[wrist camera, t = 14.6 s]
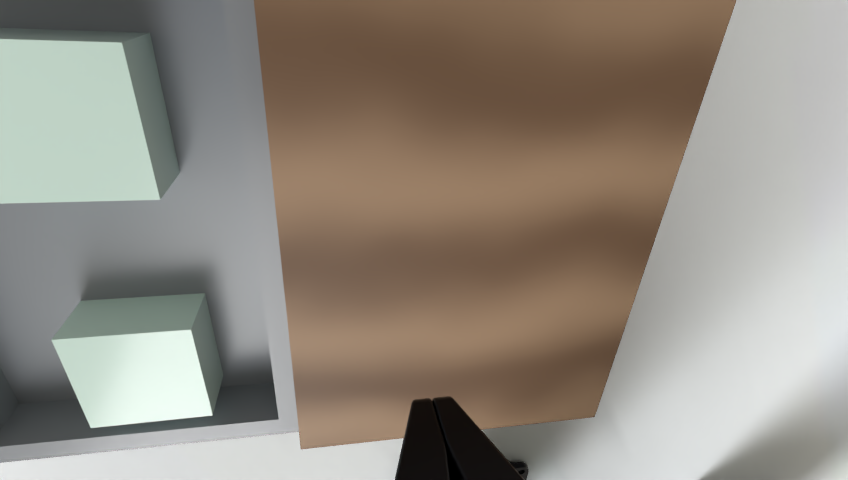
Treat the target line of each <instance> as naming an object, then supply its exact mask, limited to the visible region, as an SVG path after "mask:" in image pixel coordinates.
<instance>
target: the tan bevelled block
mask: <svg viewBox="0 0 848 480" xmlns="http://www.w3.org/2000/svg"><path fill="white" fill-rule="evenodd" d="M735 3H736V0H254V8H255V17H256V27H257V36H258V46H259V55H260V65H261V74H262V84H263V93H264V103H265V113H266V122H267V132H268V141H269V151H270V160H271V170H272V179H273V189H274V198H275V208H276V217H277V227H278V236H279V246H280V255H281V265H282V274H283V284H284V293H285V303H286V313H287V322H288V332H289V341H290V351H291V360H292V370H293V379H294V389H295V398H296V408H297V417H298V427H299V436H300V446H301V449H308V448H317V447H326V446H335V445H344V444H353V443H363V442H372V441H381V440H390V439H399V438H404V435H405V431H406V426H407V421H408V417H409V412H410V407H411V403H412V401H413V400H415V399H425V398H430V399H431V400H432V399H433V398H435V397H445V396H450V397H452V398H453V399H454V400H455V401H456V402H457V403H458V404H459V405H460V406H461V408H462V409H463V410H464V411H465V412H466V413H467V415H468V416H469V417H470V418H471V419H472V420H473V421H474V423H475V424H476V425H477V426H478V427H479V428H480V429H490V428H499V427H508V426H517V425H527V424H536V423H545V422H554V421H563V420H572V419H581V418H590V417H595V414H596V411H597V408H598V405H599V402H600V399H601V396H602V393H603V390H604V387H605V385H606V382H607V379H608V376H609V373H610V370H611V367H612V364H613V361H614V358H615V355H616V352H617V349H618V346H619V343H620V340H621V338H622V335H623V332H624V329H625V326H626V323H627V320H628V317H629V314H630V311H631V308H632V305H633V302H634V299H635V296H636V294H637V291H638V288H639V285H640V282H641V279H642V276H643V273H644V270H645V267H646V264H647V261H648V258H649V255H650V252H651V249H652V247H653V244H654V241H655V238H656V235H657V232H658V229H659V226H660V223H661V220H662V217H663V214H664V211H665V208H666V205H667V202H668V200H669V197H670V194H671V191H672V188H673V185H674V182H675V179H676V176H677V173H678V170H679V167H680V164H681V161H682V158H683V156H684V153H685V150H686V147H687V144H688V141H689V138H690V135H691V132H692V129H693V126H694V123H695V120H696V117H697V114H698V111H699V109H700V106H701V103H702V100H703V97H704V94H705V91H706V88H707V85H708V82H709V79H710V76H711V73H712V70H713V67H714V65H715V62H716V59H717V56H718V53H719V50H720V47H721V44H722V41H723V38H724V35H725V32H726V29H727V26H728V23H729V20H730V18H731V15H732V12H733V9H734V6H735Z"/></svg>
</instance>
